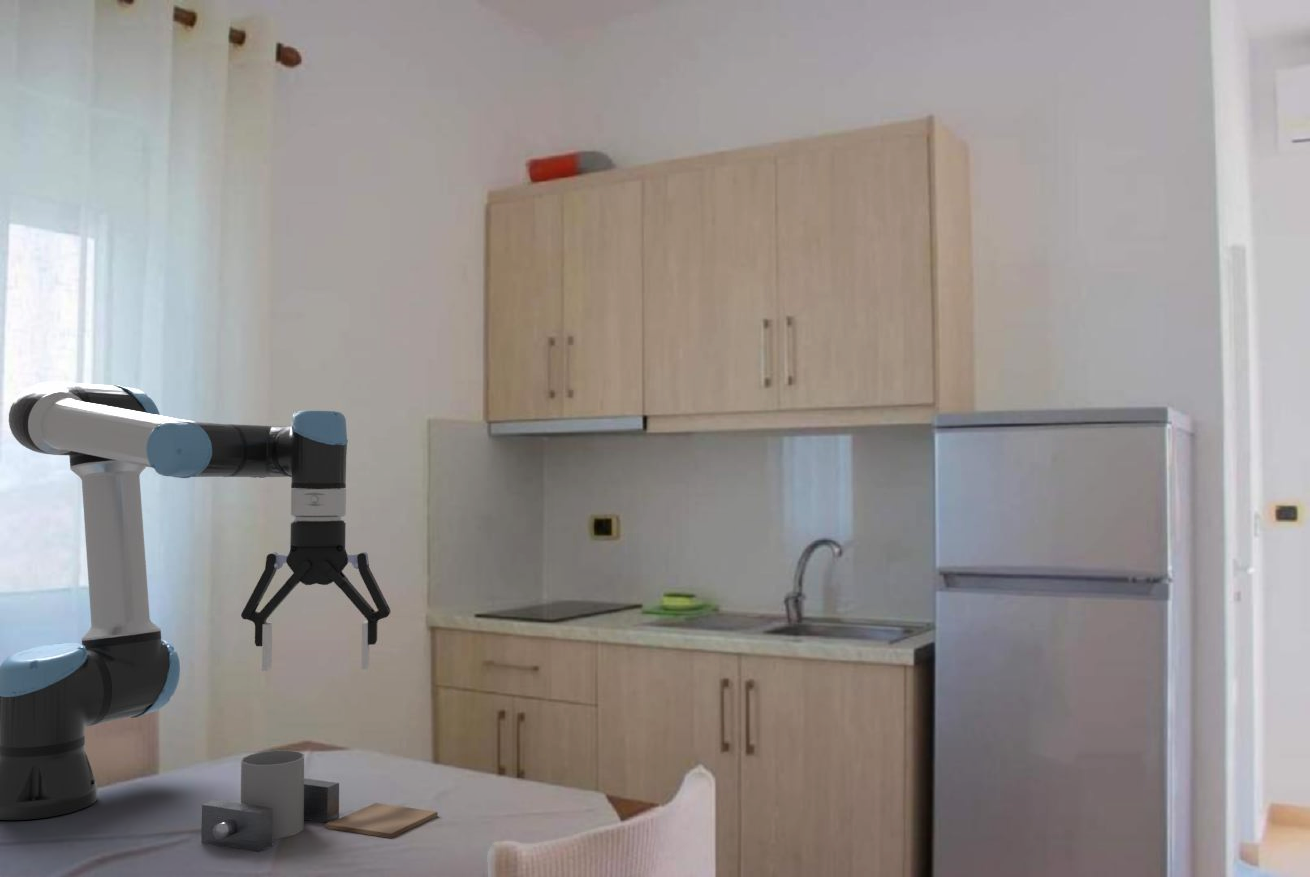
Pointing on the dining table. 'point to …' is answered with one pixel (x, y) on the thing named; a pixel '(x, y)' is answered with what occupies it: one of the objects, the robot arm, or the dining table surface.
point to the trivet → (382, 820)
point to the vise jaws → (263, 817)
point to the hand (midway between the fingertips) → (316, 669)
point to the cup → (276, 788)
